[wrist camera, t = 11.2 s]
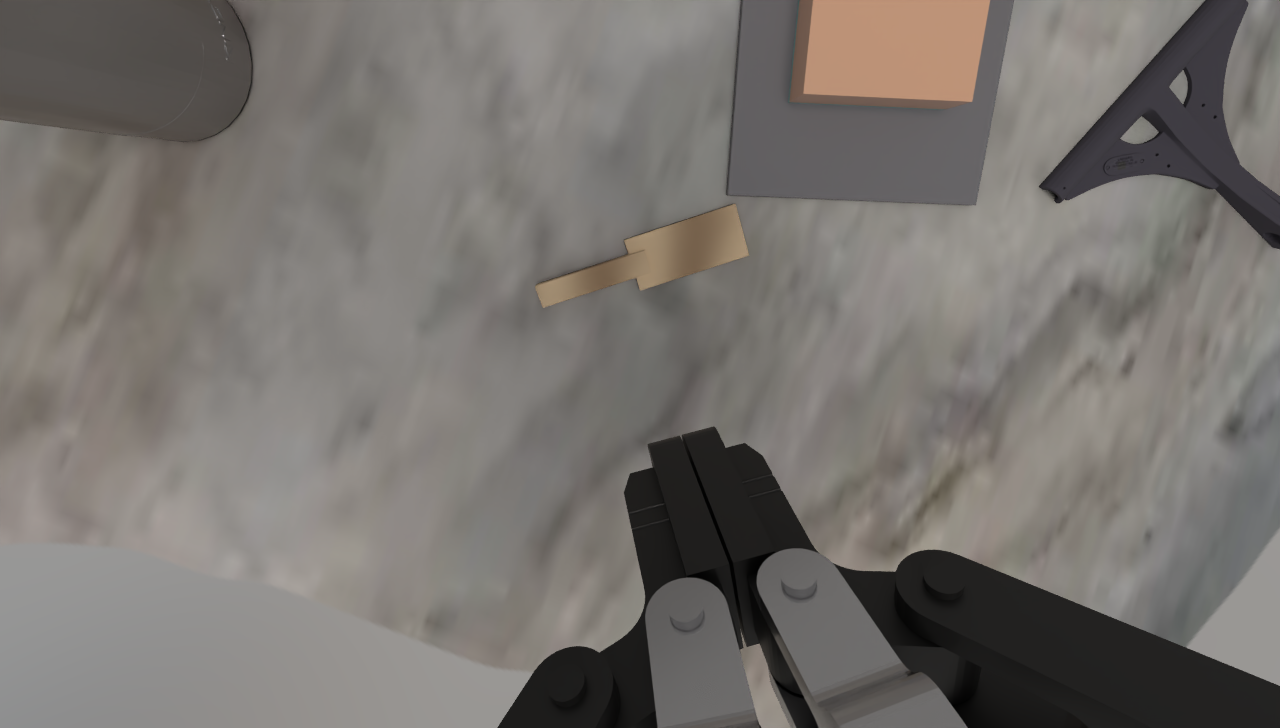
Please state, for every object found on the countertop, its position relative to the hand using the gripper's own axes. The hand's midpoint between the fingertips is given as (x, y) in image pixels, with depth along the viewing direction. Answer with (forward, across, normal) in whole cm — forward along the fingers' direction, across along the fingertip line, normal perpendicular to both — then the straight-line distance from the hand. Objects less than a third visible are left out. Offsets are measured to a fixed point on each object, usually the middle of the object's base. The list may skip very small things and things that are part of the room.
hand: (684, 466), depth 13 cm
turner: (+24, -3, +5) cm, 25 cm away
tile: (+23, -17, -2) cm, 28 cm away
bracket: (+22, -37, +6) cm, 43 cm away
